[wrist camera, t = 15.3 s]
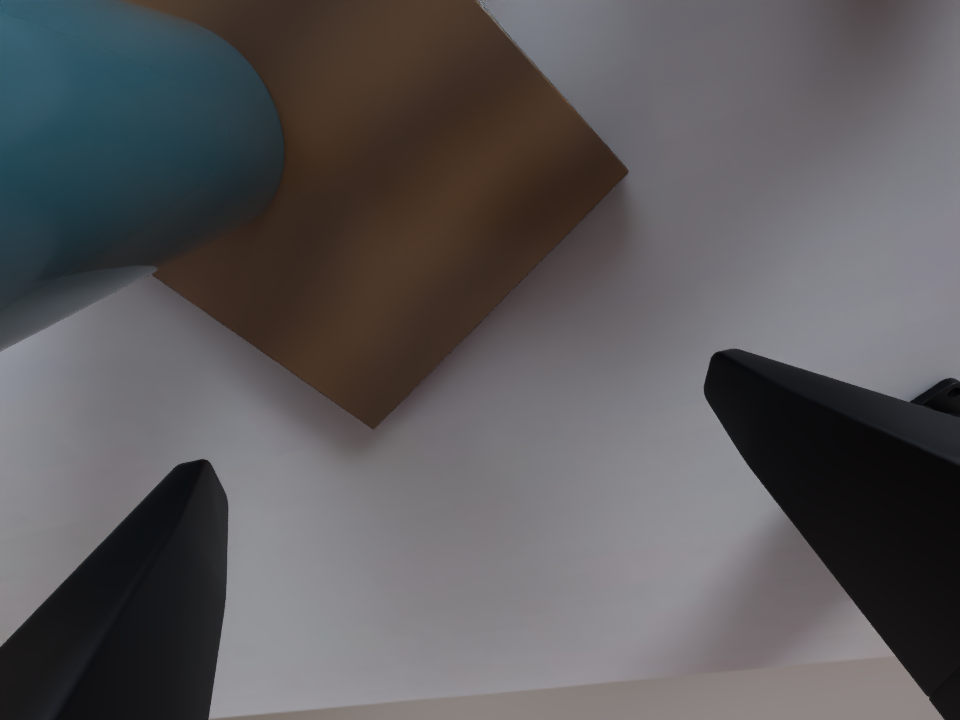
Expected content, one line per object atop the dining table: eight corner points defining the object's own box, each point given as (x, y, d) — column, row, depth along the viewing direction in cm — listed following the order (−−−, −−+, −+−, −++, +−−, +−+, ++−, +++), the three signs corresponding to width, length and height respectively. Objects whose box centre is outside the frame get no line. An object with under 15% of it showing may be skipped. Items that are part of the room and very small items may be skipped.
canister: (330, 194, 17) (-36, 412, 5) (163, 270, 18) (-481, 606, 6) (207, -40, 14) (-1480, -985, 2) (18, 67, 15) (-1829, -104, 3)
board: (621, 167, 18) (630, 171, 17) (378, 415, 22) (373, 430, 21) (-33, -563, 11) (-88, -636, 10) (-194, 7, 15) (-244, -1, 14)
